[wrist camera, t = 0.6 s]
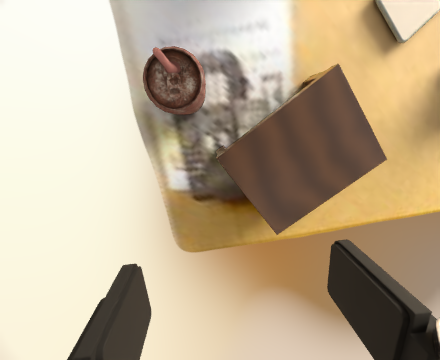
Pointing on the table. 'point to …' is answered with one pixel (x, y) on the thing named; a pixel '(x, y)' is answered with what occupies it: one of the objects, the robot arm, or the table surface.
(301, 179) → the side table
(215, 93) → the table surface
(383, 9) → the smartphone
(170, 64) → the can
